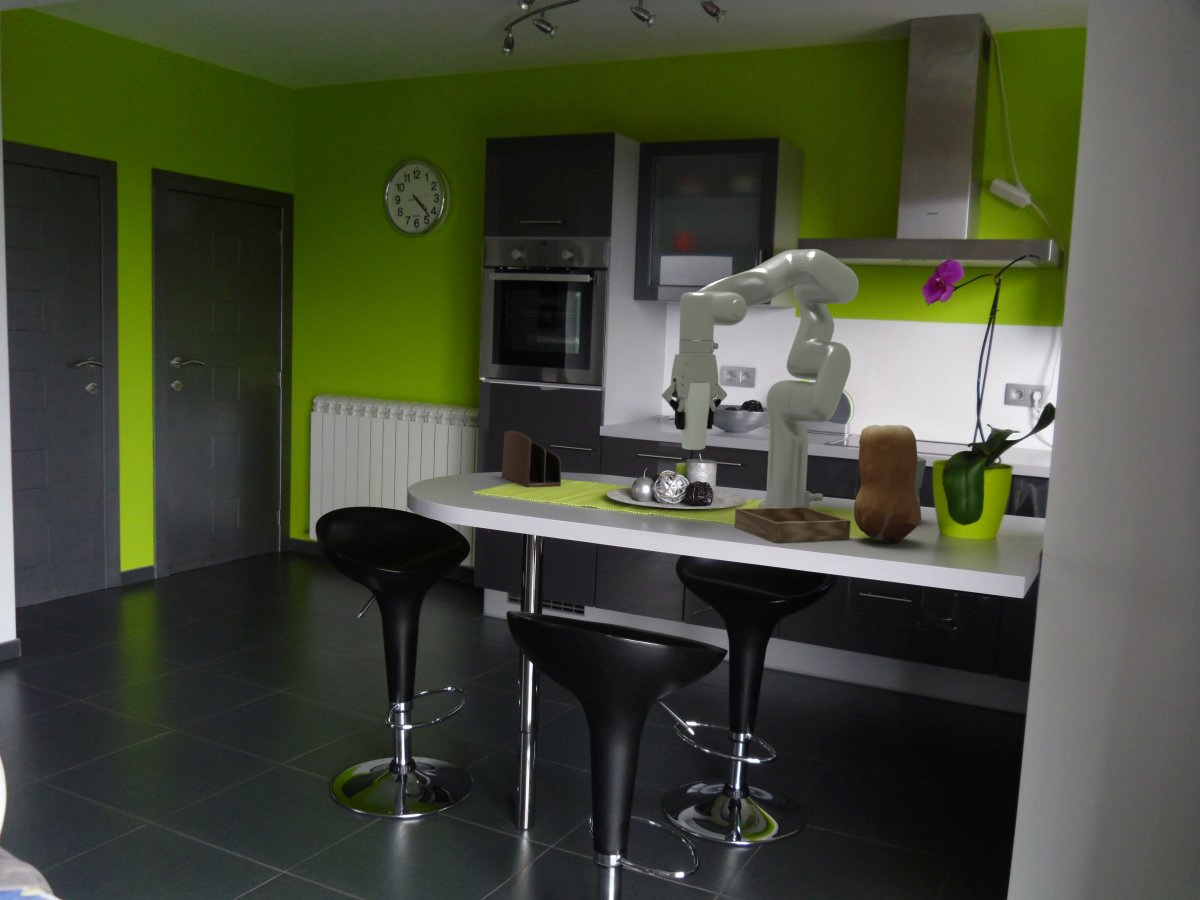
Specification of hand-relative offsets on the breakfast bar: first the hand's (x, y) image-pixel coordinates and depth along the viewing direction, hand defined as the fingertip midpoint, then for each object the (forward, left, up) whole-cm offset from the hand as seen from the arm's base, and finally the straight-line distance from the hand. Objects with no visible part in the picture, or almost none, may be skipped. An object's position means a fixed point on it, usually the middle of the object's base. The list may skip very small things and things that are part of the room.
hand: (693, 428), depth 243 cm
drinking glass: (0, 0, -5) cm, 5 cm away
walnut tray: (-17, +16, -21) cm, 31 cm away
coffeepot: (-50, +10, -22) cm, 55 cm away
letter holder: (+17, -66, -22) cm, 71 cm away
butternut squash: (-32, +29, -22) cm, 48 cm away
